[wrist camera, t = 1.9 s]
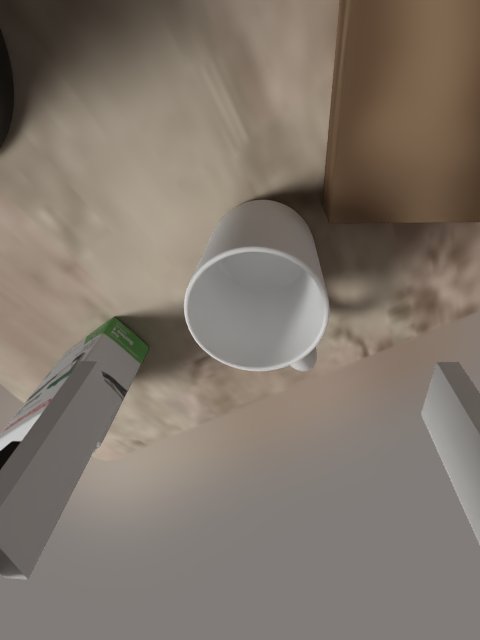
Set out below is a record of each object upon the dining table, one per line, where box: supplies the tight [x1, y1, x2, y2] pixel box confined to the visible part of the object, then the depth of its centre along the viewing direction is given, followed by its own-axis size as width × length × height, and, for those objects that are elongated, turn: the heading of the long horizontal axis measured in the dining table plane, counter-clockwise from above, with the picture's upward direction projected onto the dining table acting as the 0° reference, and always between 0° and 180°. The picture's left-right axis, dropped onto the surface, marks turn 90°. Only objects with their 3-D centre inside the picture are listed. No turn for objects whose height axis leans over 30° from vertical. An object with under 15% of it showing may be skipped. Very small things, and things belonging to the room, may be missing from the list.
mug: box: [184, 200, 330, 371], centre depth 25 cm, size 12×8×10 cm
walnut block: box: [322, 0, 480, 223], centre depth 20 cm, size 15×15×5 cm
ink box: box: [0, 317, 149, 453], centre depth 31 cm, size 9×5×12 cm, turn 128°
